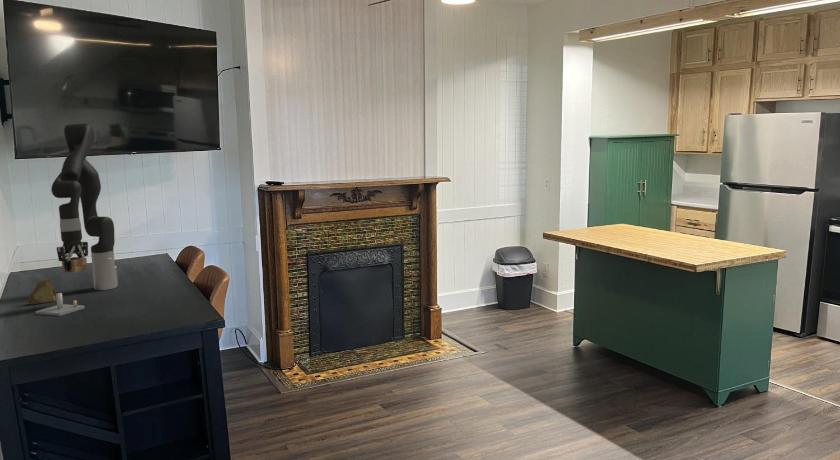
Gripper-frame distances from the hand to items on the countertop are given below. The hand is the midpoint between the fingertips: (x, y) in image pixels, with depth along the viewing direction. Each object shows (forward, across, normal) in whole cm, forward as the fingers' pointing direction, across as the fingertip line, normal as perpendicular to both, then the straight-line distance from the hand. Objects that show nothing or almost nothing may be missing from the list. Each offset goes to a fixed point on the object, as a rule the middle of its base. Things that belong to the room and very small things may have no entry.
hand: (74, 268), depth 260 cm
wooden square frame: (+1, 0, 0) cm, 1 cm away
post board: (+14, +13, +4) cm, 19 cm away
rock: (+15, +2, -16) cm, 22 cm away
